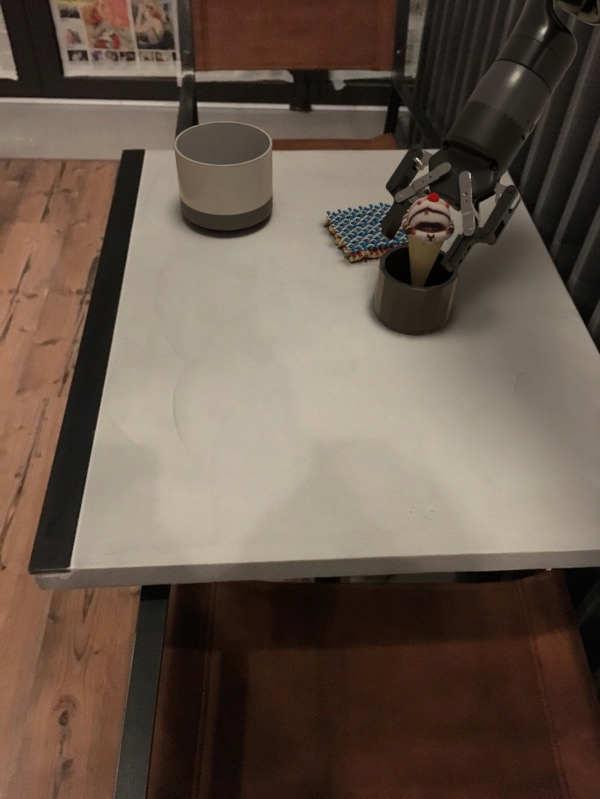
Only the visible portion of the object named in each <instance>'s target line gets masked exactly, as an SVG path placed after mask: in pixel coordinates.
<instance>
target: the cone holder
mask: <svg viewBox="0 0 600 799" xmlns="http://www.w3.org/2000/svg"><path fill="white" fill-rule="evenodd" d="M446 253H447V252H446V251H444V250H442V249H440V251H439V254H438V256H437V258H436V260H435V262H434V264H433V267H432V269H431V271H430V273H429V275H428V277H427V280H426V282H425V284H424V286H423V287H419V286H412V283H411V270H410V256H409V244H406V245H399V246H395V247H393V248H391V249H389V250H387V251H386V252H385V253H384V254H383V255H382V256H381V257H379V262H378V269H377V278H376V284H375V285H376V286H375V292H374V302H373V312H374V314H375V316H376V318H377V320H378V321H379V322H380V323H381V324H383V326H385V327H386V328H388V329H390V330H392V331H395V332H397V333H400V334H403V335H404V334H405V335H411V336H422V335H429V334H431V333H435V332H436V331H439V330H440V329H442V328H443V327H444V326H445V325H446V323H447V322H448V320H449V317H450V315H451V310H452V306H453V302H454V297H455V294H456V289H457V284H458V280H459V276H460V269H459V268H460V267H459V268H457V269H455V268H454V269H453V270H452V271H451V272H449V271H447V270H445V269H444V268H443V267H442V266H441V261H442V259H443V258H444V256H445V254H446Z"/></svg>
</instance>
